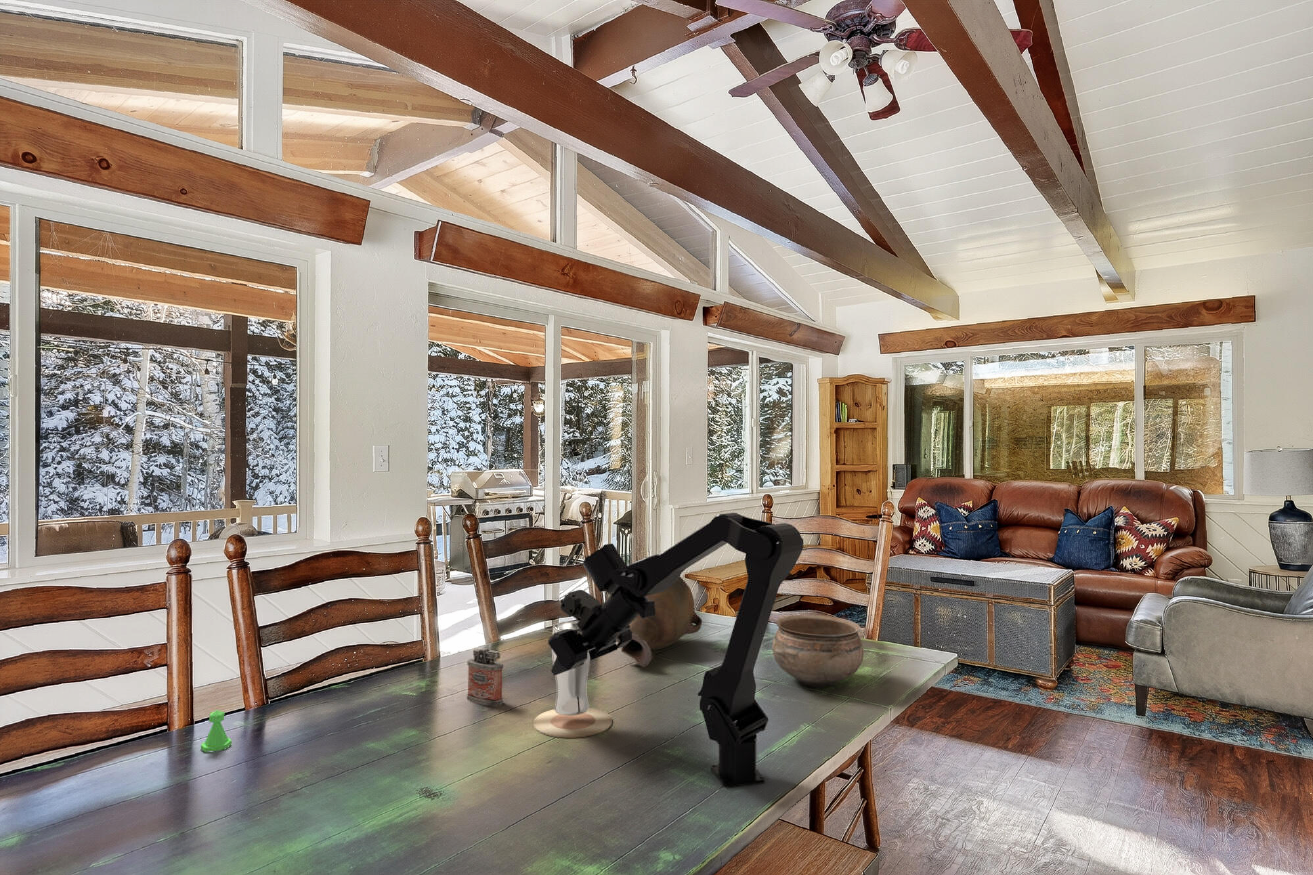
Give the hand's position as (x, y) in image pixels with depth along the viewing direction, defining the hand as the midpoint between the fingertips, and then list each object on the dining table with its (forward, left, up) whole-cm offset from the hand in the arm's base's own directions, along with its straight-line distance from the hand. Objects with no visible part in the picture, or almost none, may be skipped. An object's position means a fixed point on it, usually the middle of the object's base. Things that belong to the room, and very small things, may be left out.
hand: (565, 667), depth 131 cm
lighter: (+15, +14, -10) cm, 22 cm away
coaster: (0, -1, -10) cm, 10 cm away
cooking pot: (+10, -55, -10) cm, 57 cm away
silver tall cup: (-1, -1, -7) cm, 8 cm away
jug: (+40, -26, -10) cm, 49 cm away
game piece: (+3, +57, -10) cm, 58 cm away
